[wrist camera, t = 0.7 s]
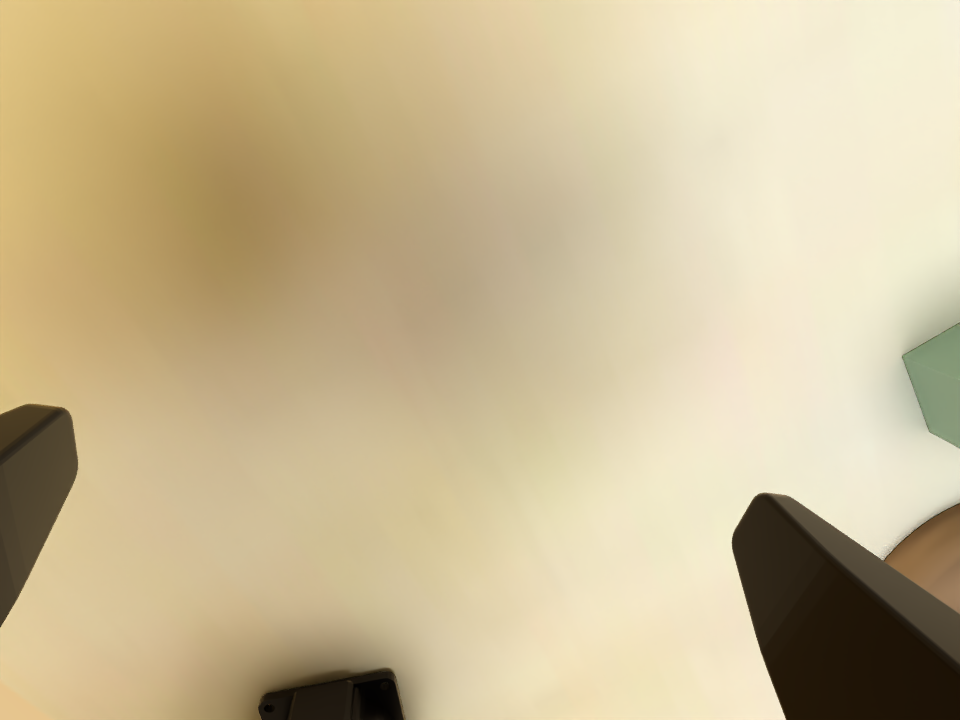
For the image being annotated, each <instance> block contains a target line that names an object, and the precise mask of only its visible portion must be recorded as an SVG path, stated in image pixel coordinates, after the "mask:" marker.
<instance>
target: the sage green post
mask: <svg viewBox="0 0 960 720" xmlns="http://www.w3.org/2000/svg"><path fill="white" fill-rule="evenodd" d="M902 357H903V360H904V363H905V365H906V368H907V371H908V374H909V376H910V379H911V382H912V385H913V387H914V390H915V393H916V396H917V398H918V401H919V404H920V407H921V409H922V412H923V415H924V418H925V420H926V423H927V426H928V429H929V432H930V433H932V434H934V435H936V436H938V437H940V438H942V439H943V440H945V441H947V442H949V443H951V444H953V445H955V446H956V447H958V448H960V323H959V324H957V325H955V326H953V327H952V328H950V329H948V330H946V331H945V332H943V333H941V334H940V335H938V336H936V337H934V338H933V339H931V340H929V341H928V342H926V343H924V344H922V345H921V346H919V347H917V348H915V349H914V350H912V351H910V352H909V353H907V354H905V355H903V356H902Z"/></svg>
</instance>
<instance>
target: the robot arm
mask: <svg viewBox="0 0 960 720" xmlns="http://www.w3.org/2000/svg"><path fill="white" fill-rule="evenodd" d="M77 470H78V457H77V450H76V443H75V436H74V429H73V421H72V417H71V415H70V413H69V411H67V410H66V409H64V408H62V407H55V406H47V405H39V404H26V405H23V406H20V407H17V408H15V409H13V410H10V411H8V412H5V413H3V414H0V627H1V625H2V624H3V622H4V620H5V619H6V617H7V615H8V614H9V612H10V610H11V609H12V607H13V605H14V604H15V602H16V600H17V598H18V597H19V595H20V593H21V591H22V589H23V587H24V585H25V583H26V581H27V579H28V577H29V575H30V573H31V571H32V569H33V567H34V565H35V563H36V560H37V558H38V556H39V554H40V552H41V550H42V548H43V546H44V544H45V542H46V540H47V538H48V535H49V533H50V531H51V529H52V527H53V525H54V523H55V521H56V519H57V517H58V515H59V513H60V511H61V508H62V506H63V504H64V502H65V500H66V498H67V496H68V494H69V492H70V490H71V488H72V486H73V483H74V481H75V478H76V475H77ZM732 550H733V554H734V557H735V561H736V565H737V568H738V572H739V576H740V579H741V583H742V587H743V590H744V594H745V598H746V601H747V605H748V608H749V612H750V616H751V619H752V623H753V627H754V630H755V634H756V637H757V641H758V644H759V647H760V651H761V654H762V656H763V659H764V662H765V665H766V668H767V670H768V673H769V676H770V678H771V681H772V684H773V686H774V689H775V692H776V694H777V697H778V700H779V702H780V705H781V707H782V710H783V713H784V715H785V718H786V720H960V614H959V613H958V612H957V611H955V610H954V609H952V608H951V607H949V606H948V605H946V604H945V603H943V602H942V601H941V600H939V599H938V598H936V597H935V596H933V595H932V594H930V593H929V592H928V591H926V590H925V589H923V588H922V587H920V586H919V585H917V584H916V583H915V582H913V581H912V580H910V579H909V578H907V577H906V576H904V575H903V574H902V573H900V572H899V571H897V570H896V569H894V568H893V567H891V566H890V565H889V564H887V563H886V562H884V561H883V560H881V559H880V558H878V557H877V556H875V555H874V554H873V553H871V552H870V551H868V550H867V549H865V548H864V547H862V546H861V545H860V544H858V543H857V542H855V541H854V540H852V539H851V538H849V537H848V536H847V535H845V534H844V533H842V532H841V531H839V530H838V529H836V528H835V527H834V526H832V525H831V524H829V523H828V522H826V521H825V520H823V519H822V518H820V517H819V516H818V515H816V514H815V513H813V512H812V511H810V510H809V509H807V508H806V507H805V506H803V505H802V504H800V503H799V502H797V501H796V500H794V499H793V498H791V497H789V496H786V495H781V494H773V493H760V494H758V495H757V496H755V497H754V498H753V500H752V501H751V503H750V505H749V507H748V508H747V510H746V512H745V513H744V515H743V517H742V519H741V520H740V522H739V524H738V525H737V527H736V529H735V531H734V533H733V537H732ZM384 682H388V683H384ZM268 704H271V705H268ZM258 708H259V713H260V716H261V719H262V720H406V719H405V715H404V710H403V706H402V702H401V698H400V693H399V689H398V685H397V680H396V677H395V675H394V674H393V673H391V672H388V671H386V672H379V673H374V674H368V675H363V676H358V677H353V678H347V679H342V680H337V681H331V682H326V683H321V684H316V685H310V686H305V687H300V688H295V689H289V690H284V691H279V692H273V693H268V694H266V695H264V696H263V697H262V698H261V700H260V703H259V707H258Z"/></svg>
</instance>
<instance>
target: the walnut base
mask: <svg viewBox="0 0 960 720" xmlns="http://www.w3.org/2000/svg"><path fill="white" fill-rule="evenodd" d="M884 562H886V563H887V564H889V565H890V566H891V567H893V568H894V569H896V570H897V571H899V572H900V573H902V574H903V575H904V576H906V577H907V578H909V579H910V580H912V581H913V582H915V583H916V584H917V585H919V586H920V587H922V588H923V589H925V590H926V591H928V592H929V593H930V594H932V595H933V596H935V597H936V598H938V599H939V600H941V601H942V602H943V603H945V604H946V605H948V606H949V607H951V608H952V609H954V610H955V611H957V612H958V613H959V614H960V504H958V505H956V506H954V507H952V508H950V509H948V510H946V511H944V512H942V513H941V514H939V515H937V516H936V517H934V518H932V519H930V520H929V521H928V522H926V523H925V524H923V525H922V526H921V527H919V528H918V529H917V530H915V531H914V532H913V533H912V534H911V535H909V536H908V537H907V538H906V539H905V540H904V541H902V542H901V543H900V544H899V545H898V546H897V547H896V548H895V550H894V551H893V552H892V553H891V554H890V555H889V556H888V557H887V558H886V560H885V561H884Z"/></svg>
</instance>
